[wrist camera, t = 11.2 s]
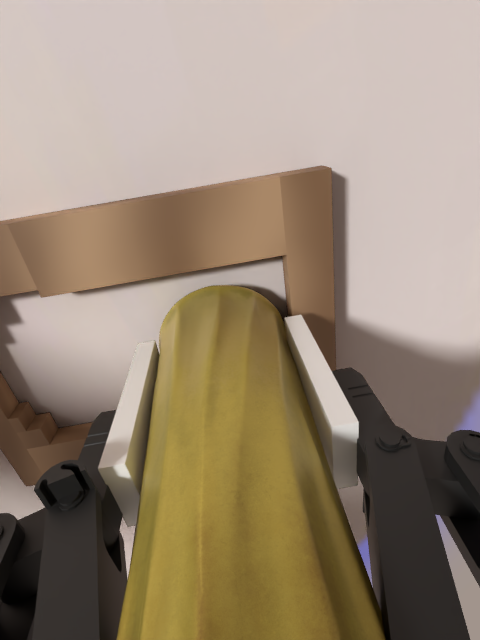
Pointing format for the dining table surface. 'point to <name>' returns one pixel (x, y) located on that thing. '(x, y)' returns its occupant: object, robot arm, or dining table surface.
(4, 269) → the keyhole board
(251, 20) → the dining table surface
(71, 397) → the dining table surface
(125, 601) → the vase
